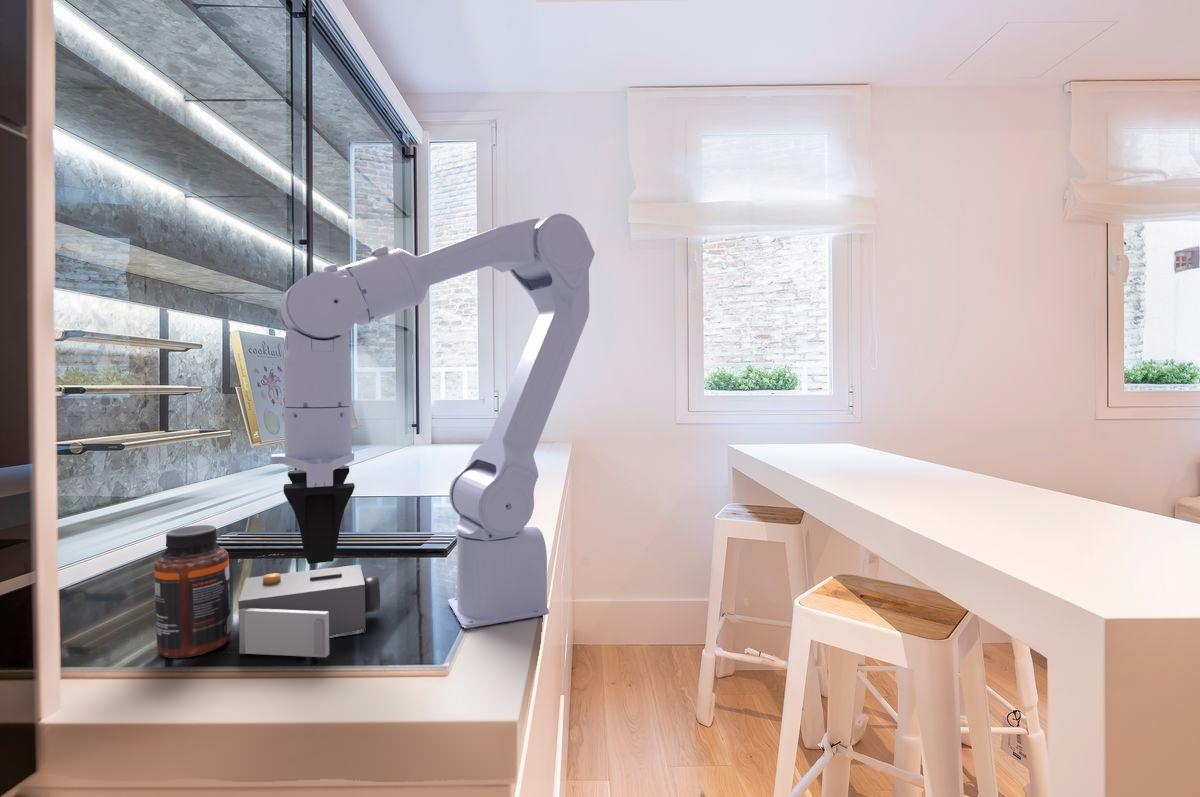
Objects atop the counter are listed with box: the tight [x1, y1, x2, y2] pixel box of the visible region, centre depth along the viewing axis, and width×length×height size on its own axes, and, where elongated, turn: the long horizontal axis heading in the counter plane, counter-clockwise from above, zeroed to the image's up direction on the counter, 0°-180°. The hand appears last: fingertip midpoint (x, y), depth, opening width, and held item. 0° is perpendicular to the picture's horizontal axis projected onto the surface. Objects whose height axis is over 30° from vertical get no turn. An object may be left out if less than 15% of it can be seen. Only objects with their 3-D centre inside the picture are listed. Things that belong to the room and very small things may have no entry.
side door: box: [238, 608, 330, 658], centre depth 56 cm, size 8×1×4 cm, turn 85°
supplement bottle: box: [153, 524, 232, 659], centre depth 59 cm, size 6×6×11 cm
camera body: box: [237, 564, 381, 655], centre depth 63 cm, size 13×7×6 cm, turn 115°
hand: (320, 550), depth 58 cm, fingers open, 7 cm apart
